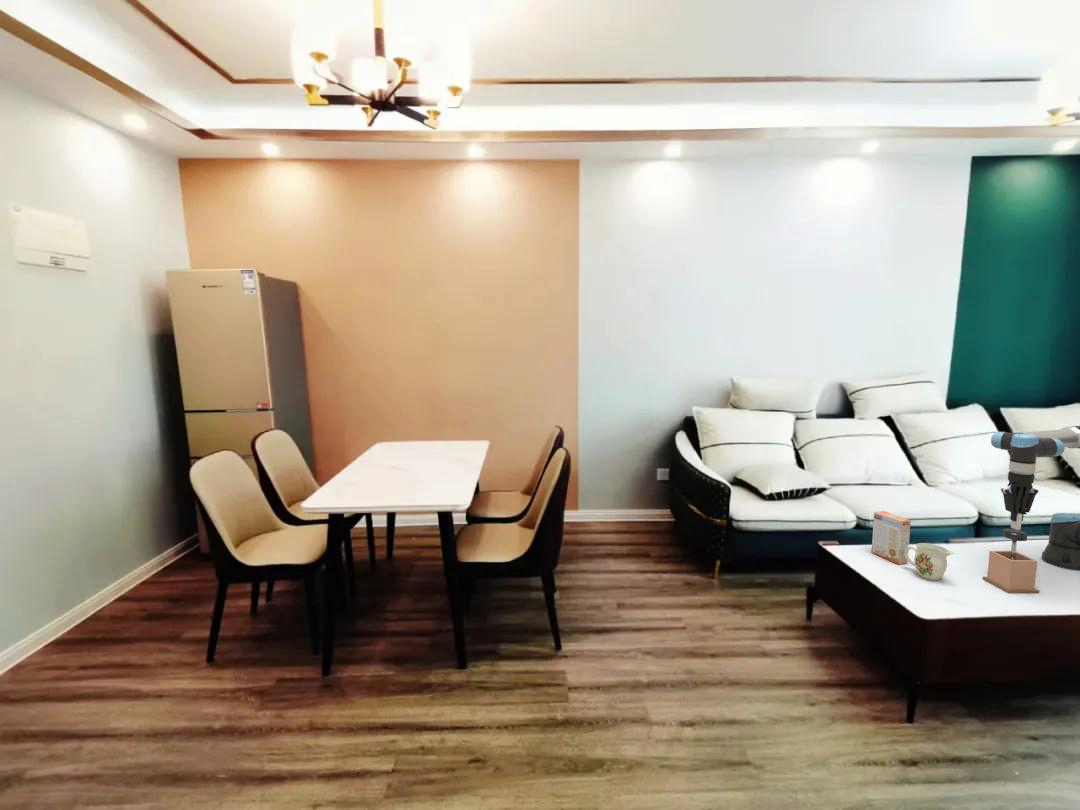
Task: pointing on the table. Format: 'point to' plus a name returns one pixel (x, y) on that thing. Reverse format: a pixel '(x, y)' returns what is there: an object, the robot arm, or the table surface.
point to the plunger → (1014, 539)
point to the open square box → (1012, 572)
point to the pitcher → (929, 560)
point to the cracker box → (890, 536)
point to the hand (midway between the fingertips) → (1015, 528)
